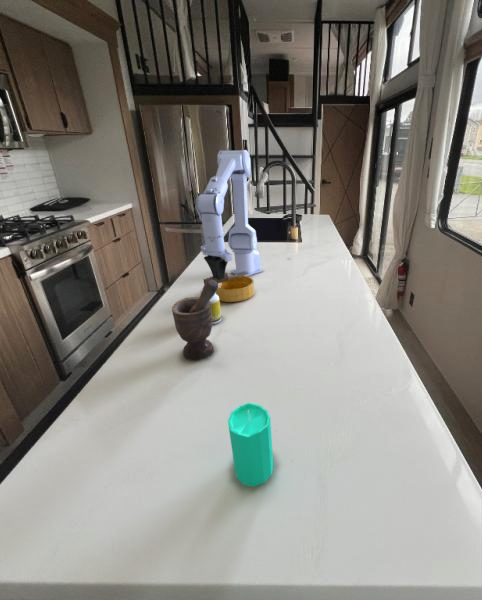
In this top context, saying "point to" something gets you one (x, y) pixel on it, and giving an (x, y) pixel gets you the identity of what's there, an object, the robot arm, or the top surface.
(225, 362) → the top surface
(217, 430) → the top surface
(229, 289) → the bowl
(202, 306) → the mortar and pestle
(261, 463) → the candle
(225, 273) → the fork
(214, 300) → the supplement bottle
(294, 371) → the top surface
